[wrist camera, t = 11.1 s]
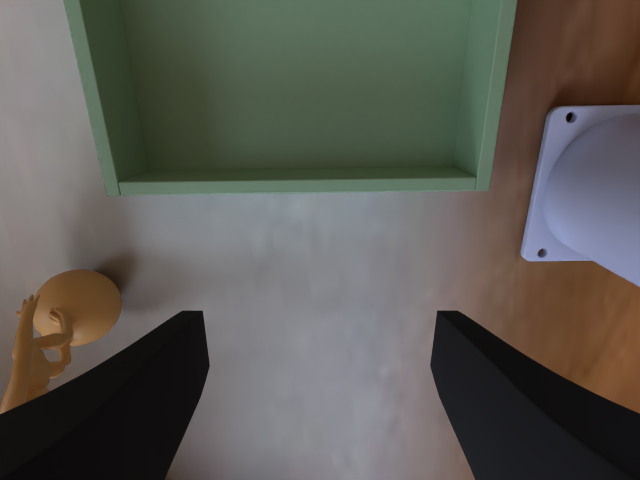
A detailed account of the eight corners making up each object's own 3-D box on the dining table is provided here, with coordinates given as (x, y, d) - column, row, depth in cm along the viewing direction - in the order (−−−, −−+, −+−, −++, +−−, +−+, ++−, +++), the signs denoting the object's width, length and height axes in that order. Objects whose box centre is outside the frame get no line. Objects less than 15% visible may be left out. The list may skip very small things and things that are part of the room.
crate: (492, -128, 15) (549, -205, 11) (457, 175, 19) (489, 190, 15) (93, -120, 15) (19, -194, 11) (146, 179, 19) (106, 196, 15)
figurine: (70, 214, 19) (-274, 360, 8) (181, 245, 20) (3, 420, 9) (61, 338, 22) (-206, 575, 11) (158, 362, 23) (1, 610, 12)
